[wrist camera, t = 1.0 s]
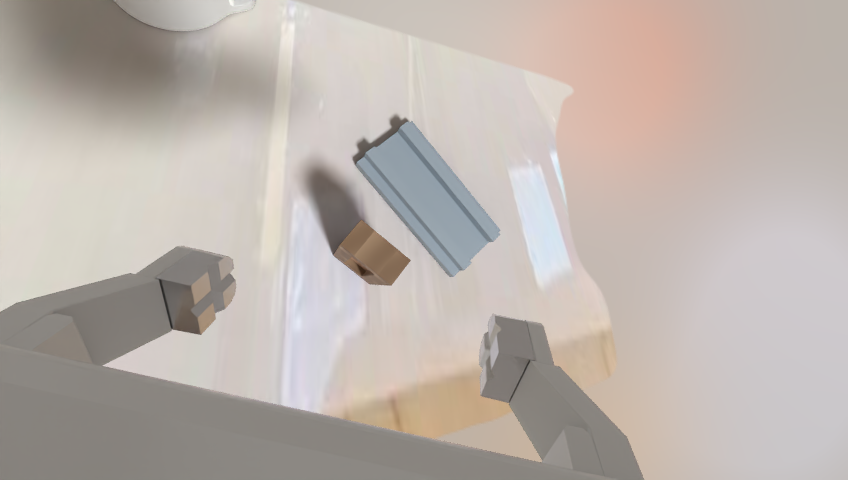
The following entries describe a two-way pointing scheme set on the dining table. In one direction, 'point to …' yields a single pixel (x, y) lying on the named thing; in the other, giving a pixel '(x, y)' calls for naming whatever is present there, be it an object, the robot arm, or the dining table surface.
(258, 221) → the dining table surface
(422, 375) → the dining table surface
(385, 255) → the frame
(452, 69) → the dining table surface
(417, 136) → the picture stand
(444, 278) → the dining table surface
